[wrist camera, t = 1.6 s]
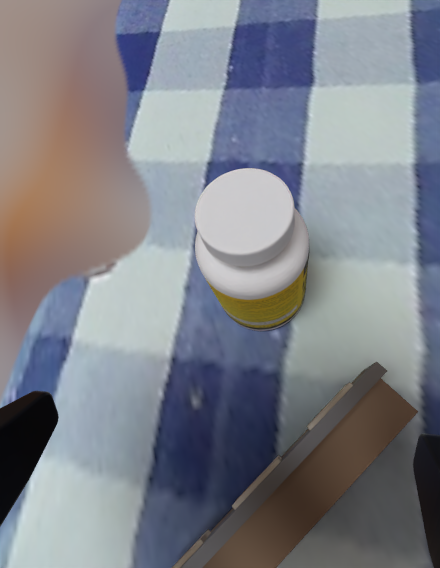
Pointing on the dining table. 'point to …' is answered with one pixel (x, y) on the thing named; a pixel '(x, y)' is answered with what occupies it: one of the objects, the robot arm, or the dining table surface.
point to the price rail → (305, 478)
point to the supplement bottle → (252, 247)
